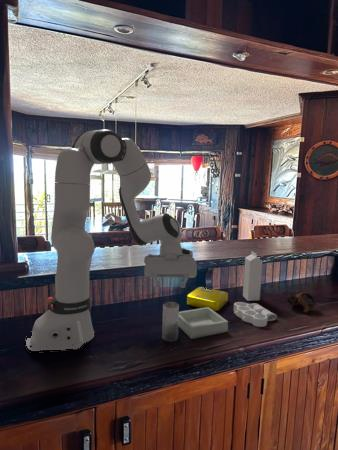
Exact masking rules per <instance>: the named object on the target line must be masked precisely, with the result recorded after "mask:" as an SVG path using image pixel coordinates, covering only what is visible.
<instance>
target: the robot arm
mask: <svg viewBox="0 0 338 450" xmlns="http://www.w3.org/2000/svg"><path fill="white" fill-rule="evenodd" d="M103 164H107V165H109V164H112V166H113V167H114V168H115V170H116V172H117V174H118V175H117V176H119V179H120V185H121V186H120V187H119V189H118V195H119V200H120V203H121V207H122V209H123V212H124V215H125V218H126V221H127V224H128V228H129V233H130V237H131V239H132V241H133V242H134V243H135V244H137V245H139V246H146V245H148V244H150V243H154V242H157V241H160V245H159V254H157V253H156V254H151V253H149V254H148V255H145V256H144V259H143V260H144V261H143V263H144V264H145V265H144V272H143V274H144V276H145V277H146V278H152V279H153V280H154V282H155V287H156V288H160V287H161V283H160V282H161V281H159V280H158V278H180V279H181V278H183V280H182V281H181V282H180V288H182V289H183V288H186V283H187V282H188V280H189V279H190V278H191V279H195V278H196V276H197V274H198V268H197V263H196V260H195V258H194V252H193V251H192V250H191V249H187V248H184V247H182V244H181V242H182V231H181V226H180V221H178V220H177V218H175V217H173V216H172V215H171V214H169V213H161V214H158V215H157V214H156V215H154V216H151V217H147V218H141V217H140V216H139V213H138V210H137V206H136V203H135V199H136V198H137V197H138V196H139V195H140V194H141V193H143V192H144V191H145V189H146V188H147V187H148V186H149V184H150V182H151V180H152V179H151V178H152V172H151V169H150V167H149V164H148V163H147V160H146V158H145V156H144V155H143V153H142V151H141V149H140V147H138V145H137V144H136V142H135V141H134V140H133V139H132V138H130V137H121V136H120V134H117V133H116V132H115V131H113V130H111V129H105V128H104V129H93V130H89V131H85V132H82V133H81V134H79V135H78V137H76V139H75V141H74V143H73V144H72V146H71V147H69V148H65V149H63V150H61V151H60V152H59V153H58V156H57V160H56V165H55V173H54V174H55V175H54V207H53V216H52V223H51V236H50V239H51V240H50V242H51V244H52V247H53V248H54V249H55V251H56V253H57V263H56V272H55V275H54V280H55V281H54V285H55V297H54V298H53V296H49V297H47V299H46V301H47V304H48V305H49V307H48V308H49V309H48V310H47V311H46V312H45V313H43V314H42V315H40V317H38V318H37V319H36V320H34V321H35V322H34V324H33V326H32V331H31V332H32V336H31V338H27V340H26V339H25V341H26V345H25V347H26V346H27V348H28V349H29V350H31V351H40V350H41V351H42V350H61V351H67V350H66V349H73V350H79V349H81V348H82V347H83V346H84V345H85V344H87V343H88V342H90V341H92V339H93V338H94V337H95V335H94V333H95V330H94V327H93V323H92V317H91V310H92V297H91V295H90V271H91V266H92V259H93V255H94V253H95V249H96V246H95V242H94V240H93V237H92V235H91V234H90V232H88V231H87V230H86V221H87V216H88V212H89V210H90V205H91V204H90V201H91V200H90V198H91V172H92V169H93V167H94V166H95V165H103ZM188 278H189V279H188ZM86 342H87V343H86ZM84 343H85V344H84ZM83 344H84V345H83ZM82 345H83V346H82ZM30 346H32V347H30ZM81 346H82V347H81ZM80 347H81V348H80ZM27 348H26V349H27ZM78 348H79V349H78Z"/></svg>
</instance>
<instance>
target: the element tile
mask: <svg viewBox="0 0 338 450" xmlns="http://www.w3.org/2000/svg"><path fill="white" fill-rule="evenodd" d="M205 288H206V289H205ZM205 288H204V286H198V287H197V288H195V289H194V290H192V291H191V292H189V293H188V294H187V295H186V305H188V306H192V307H197V308H199V309H200V308H206V307H209V308H210V309H212V310H213V311H214V312H216V311H219V310H221V308H223V307H224V306H225V305H226V304H227V303H228V299H229V292H227V291H224V290H219V289H214V288H211V289H212V290H209V289H210V288H209V289H207V288H208V287H205Z"/></svg>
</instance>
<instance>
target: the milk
mask: <svg viewBox="0 0 338 450" xmlns="http://www.w3.org/2000/svg"><path fill="white" fill-rule="evenodd" d="M250 252H251V253H250V254H249V255H247V256H245V258H244V268H243V269H244V271H243V287H242V288H243V289H242V297H243V298H245V300H246V301H248V302H249V301H250V302H251V301H253V302H254V301H260V299H261V288H262V287H261V285H262V275H263V274H262V272H263V260H262V259H260V258H259V257H258V253H256V252H254V251H252V250H251V251H250Z"/></svg>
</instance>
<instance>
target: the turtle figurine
mask: <svg viewBox="0 0 338 450" xmlns="http://www.w3.org/2000/svg"><path fill="white" fill-rule="evenodd" d="M303 296H306V298H307V299H310V300H311V301H312V303H307V301H305V300H304V299H303ZM285 300H286V302H287V303H288V304H289V305H290V307H291V308H293V307H294V305H302V306H303V307H304V309H303V313H309V312H310V311H312V310H314V309H315V307H316V303H317V300H316V299H315V297H314V296H313V295H312V294H310V293H308V292H305V291H302V292H300V293H297V294H296V295H293V294H289V295H287V296H286V298H285ZM307 304H308V305H307Z"/></svg>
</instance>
